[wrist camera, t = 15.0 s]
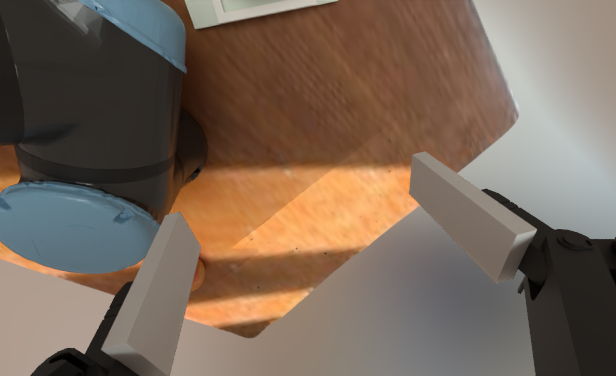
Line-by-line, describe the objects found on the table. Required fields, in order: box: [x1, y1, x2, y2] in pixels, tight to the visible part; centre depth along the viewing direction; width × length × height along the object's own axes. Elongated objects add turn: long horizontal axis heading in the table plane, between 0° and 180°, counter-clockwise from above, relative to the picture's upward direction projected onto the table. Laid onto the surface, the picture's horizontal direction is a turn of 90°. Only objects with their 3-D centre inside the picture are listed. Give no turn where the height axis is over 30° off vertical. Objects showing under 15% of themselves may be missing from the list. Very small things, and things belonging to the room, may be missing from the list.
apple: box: [190, 259, 205, 292], centre depth 53 cm, size 7×7×8 cm
